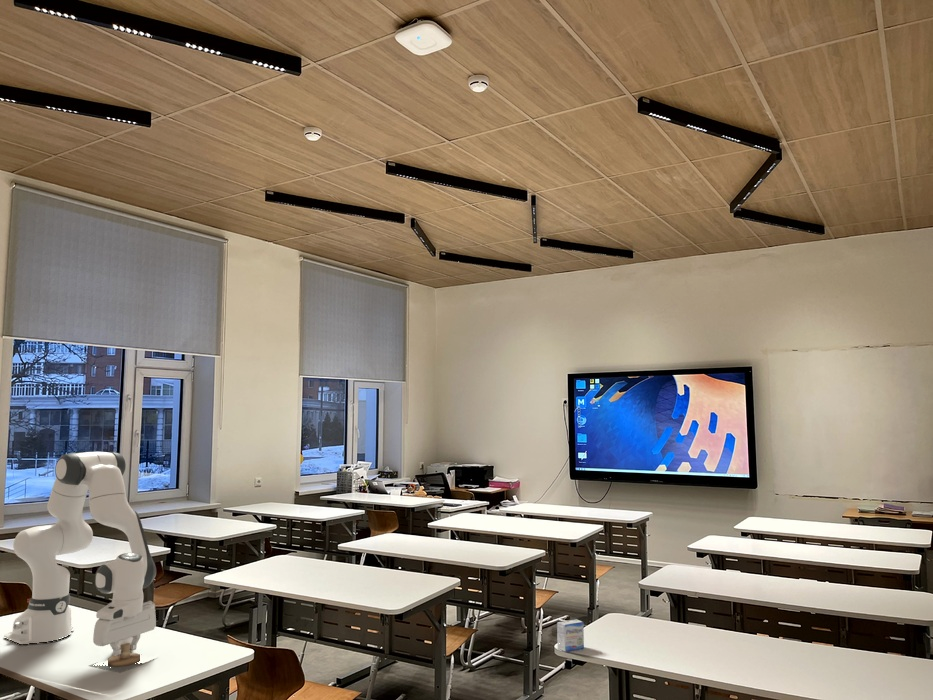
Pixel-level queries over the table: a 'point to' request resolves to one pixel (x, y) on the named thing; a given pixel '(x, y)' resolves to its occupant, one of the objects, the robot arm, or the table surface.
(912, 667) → the table surface
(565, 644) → the medicine box
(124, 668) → the mat
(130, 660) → the lid
